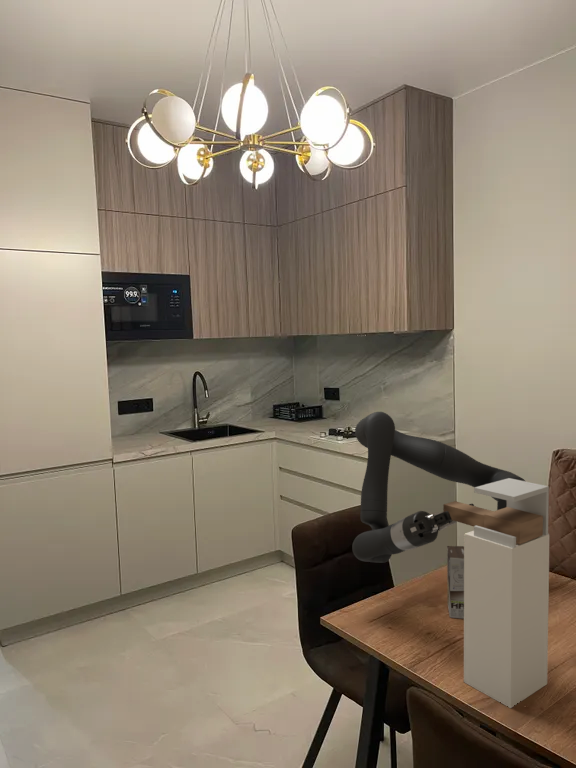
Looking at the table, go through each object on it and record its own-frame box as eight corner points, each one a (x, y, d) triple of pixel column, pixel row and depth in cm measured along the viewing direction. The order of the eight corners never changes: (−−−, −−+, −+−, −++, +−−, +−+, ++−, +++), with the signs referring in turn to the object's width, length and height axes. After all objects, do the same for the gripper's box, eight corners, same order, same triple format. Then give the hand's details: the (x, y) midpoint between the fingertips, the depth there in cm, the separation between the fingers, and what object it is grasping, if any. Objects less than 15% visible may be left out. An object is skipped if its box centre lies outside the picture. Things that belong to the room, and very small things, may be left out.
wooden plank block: (437, 519, 129) (437, 501, 129) (460, 512, 134) (460, 495, 133) (519, 544, 113) (519, 524, 112) (542, 535, 117) (542, 515, 117)
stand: (463, 682, 123) (464, 486, 119) (500, 660, 130) (502, 476, 127) (510, 708, 114) (512, 497, 110) (547, 683, 121) (550, 485, 118)
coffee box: (475, 620, 149) (475, 558, 148) (449, 618, 150) (449, 557, 149) (471, 603, 158) (471, 545, 157) (446, 602, 159) (446, 544, 158)
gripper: (386, 522, 137) (433, 501, 125) (427, 510, 146) (475, 489, 134) (398, 553, 135) (447, 535, 123) (439, 539, 143) (489, 521, 131)
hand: (461, 511), depth 128 cm, fingers open, 8 cm apart
